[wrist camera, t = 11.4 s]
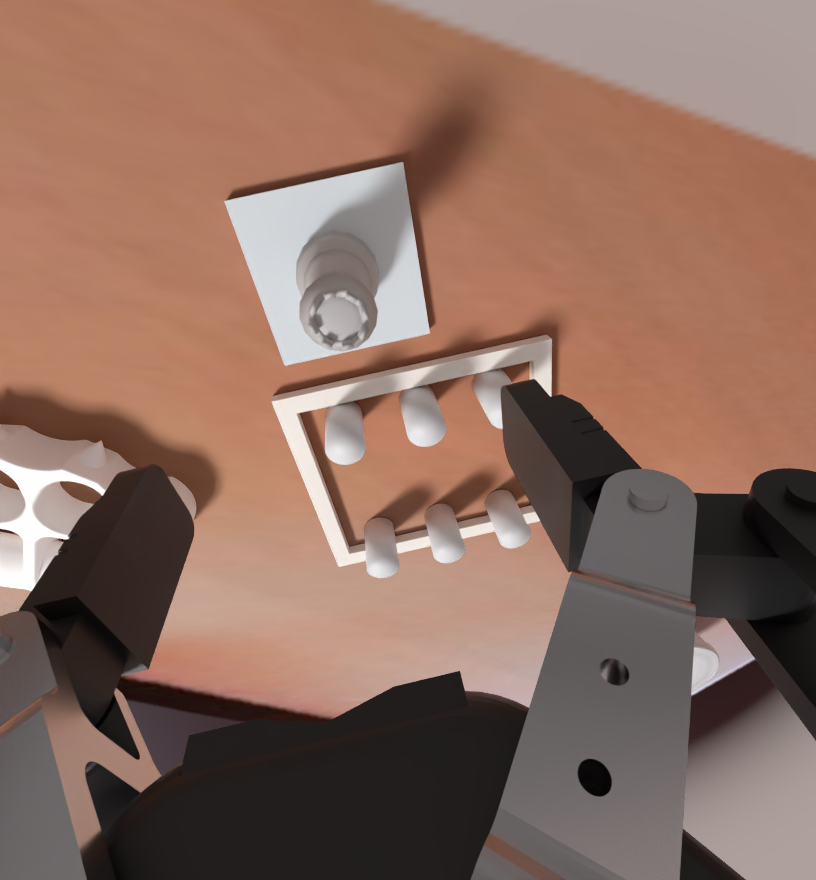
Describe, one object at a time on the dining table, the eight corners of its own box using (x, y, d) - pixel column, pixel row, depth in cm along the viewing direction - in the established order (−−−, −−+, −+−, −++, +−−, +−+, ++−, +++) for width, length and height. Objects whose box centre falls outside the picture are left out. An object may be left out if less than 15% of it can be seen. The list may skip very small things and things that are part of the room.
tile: (285, 362, 28) (284, 365, 27) (226, 200, 23) (224, 201, 22) (428, 330, 28) (429, 333, 27) (401, 161, 23) (403, 162, 22)
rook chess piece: (375, 225, 24) (390, 259, 17) (381, 309, 26) (397, 367, 20) (288, 231, 23) (270, 268, 17) (303, 316, 26) (293, 377, 19)
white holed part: (-96, 546, 32) (-129, 366, 25) (178, 586, 38) (211, 449, 31) (-136, 585, 29) (-187, 395, 22) (166, 621, 35) (199, 480, 28)
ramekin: (610, 605, 47) (638, 653, 43) (704, 598, 49) (740, 643, 45) (580, 665, 54) (602, 712, 49) (665, 657, 55) (693, 701, 51)
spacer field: (338, 559, 38) (338, 599, 35) (272, 395, 29) (264, 429, 25) (546, 512, 38) (566, 547, 35) (546, 334, 29) (574, 359, 26)
